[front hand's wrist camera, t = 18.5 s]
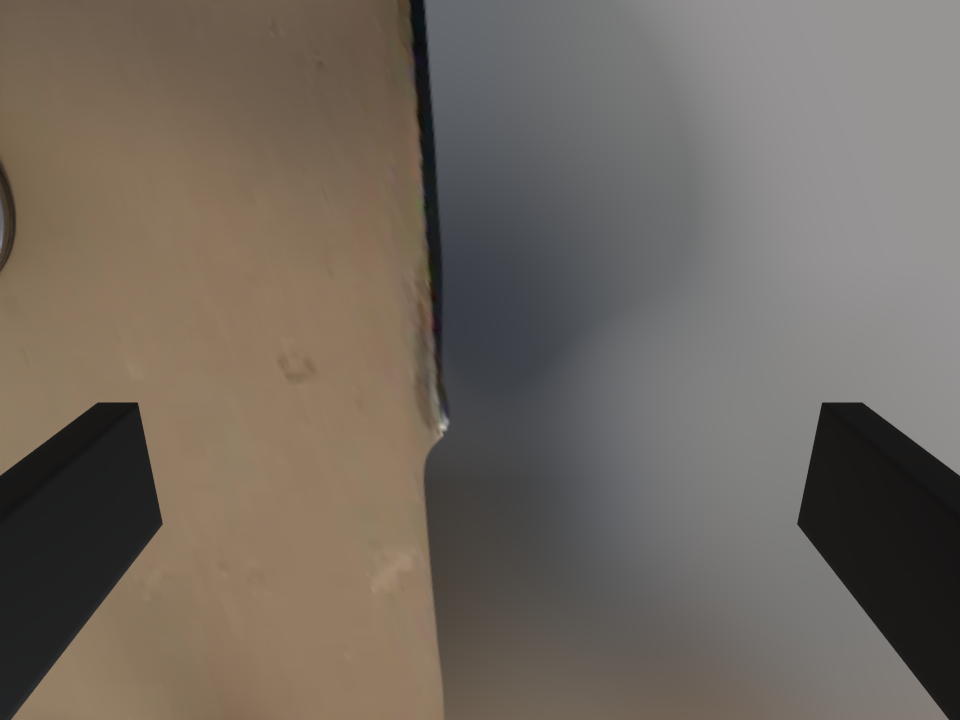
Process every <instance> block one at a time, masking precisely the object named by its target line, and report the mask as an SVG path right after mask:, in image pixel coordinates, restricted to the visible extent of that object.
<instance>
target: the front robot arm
mask: <svg viewBox="0 0 960 720" xmlns="http://www.w3.org/2000/svg"><path fill="white" fill-rule="evenodd" d="M13 230H14V217H13V207H12V202H11V197H10V193H9V190H8V187H7V184H6V181H5V178H4V176H3V173H2V171H1V169H0V270H1V268H2V267H3V265H4V263H5V261H6V259H7V257H8V254H9V251H10V248H11V243H12V239H13ZM162 524H163V523H162V518H161V513H160V508H159V503H158V499H157V494H156V489H155V484H154V479H153V474H152V469H151V464H150V460H149V455H148V450H147V445H146V440H145V435H144V430H143V425H142V421H141V416H140V411H139V406H138V403H97V404H95V405H94V406H93V407H91V408H90V409H89V410H87V411H86V412H85V413H83V414H82V415H81V416H79V417H78V418H77V419H75V420H74V421H73V422H71V423H70V424H69V425H67V426H66V427H65V428H63V429H62V430H61V431H59V432H58V433H57V434H55V435H54V436H53V437H51V438H50V439H49V440H47V441H46V442H45V443H43V444H42V445H41V446H39V447H38V448H37V449H35V450H34V451H33V452H31V453H30V454H29V455H27V456H26V457H25V458H23V459H22V460H21V461H19V462H18V463H17V464H15V465H14V466H13V467H11V468H10V469H9V470H7V471H6V472H5V473H3V474H2V475H1V476H0V720H11V719H12V718H13V716H14V715H15V714H16V712H17V711H18V710H19V709H20V707H21V706H22V705H23V703H24V702H25V701H26V700H27V698H28V697H29V696H30V694H31V693H32V692H33V691H34V689H35V688H36V687H37V685H38V684H39V683H40V682H41V680H42V679H43V678H44V676H45V675H46V674H47V673H48V671H49V670H50V669H51V667H52V666H53V665H54V663H55V662H56V661H57V660H58V658H59V657H60V656H61V654H62V653H63V652H64V651H65V649H66V648H67V647H68V645H69V644H70V643H71V642H72V640H73V639H74V638H75V636H76V635H77V634H78V633H79V631H80V630H81V629H82V627H83V626H84V625H85V624H86V622H87V621H88V620H89V618H90V617H91V616H92V615H93V613H94V612H95V611H96V609H97V608H98V607H99V606H100V604H101V603H102V602H103V600H104V599H105V598H106V597H107V595H108V594H109V593H110V591H111V590H112V589H113V588H114V586H115V585H116V584H117V582H118V581H119V580H120V579H121V577H122V576H123V575H124V573H125V572H126V571H127V570H128V568H129V567H130V566H131V564H132V563H133V562H134V560H135V559H136V558H137V557H138V555H139V554H140V553H141V551H142V550H143V549H144V548H145V546H146V545H147V544H148V542H149V541H150V540H151V539H152V537H153V536H154V535H155V533H156V532H157V531H158V530H159V528H160V527H161V526H162ZM797 524H798V526H799V527H800V528H801V530H802V531H803V532H804V533H805V535H806V536H807V537H808V539H809V540H810V541H811V542H812V544H813V545H814V546H815V548H816V549H817V550H818V551H819V553H820V554H821V555H822V557H823V558H824V559H825V560H826V562H827V563H828V564H829V566H830V567H831V568H832V569H833V571H834V572H835V573H836V575H837V576H838V577H839V578H840V580H841V581H842V582H843V584H844V585H845V586H846V588H847V589H848V590H849V591H850V593H851V594H852V595H853V597H854V598H855V599H856V600H857V602H858V603H859V604H860V606H861V607H862V608H863V609H864V611H865V612H866V613H867V615H868V616H869V617H870V618H871V620H872V621H873V622H874V624H875V625H876V626H877V627H878V629H879V630H880V631H881V633H882V634H883V635H884V636H885V638H886V639H887V640H888V642H889V643H890V644H891V645H892V647H893V648H894V649H895V651H896V652H897V653H898V654H899V656H900V657H901V658H902V660H903V661H904V662H905V663H906V665H907V666H908V667H909V669H910V670H911V671H912V672H913V674H914V675H915V676H916V678H917V679H918V680H919V681H920V683H921V684H922V685H923V687H924V688H925V689H926V690H927V692H928V693H929V694H930V696H931V697H932V698H933V700H934V701H935V702H936V703H937V705H938V706H939V707H940V708H941V710H942V711H943V712H944V714H945V715H946V716H947V718H948V719H949V720H960V476H959V475H958V474H957V473H955V472H954V471H953V470H951V469H950V468H949V467H947V466H946V465H945V464H943V463H942V462H941V461H939V460H938V459H937V458H935V457H934V456H933V455H931V454H930V453H929V452H927V451H926V450H925V449H923V448H922V447H921V446H919V445H918V444H917V443H915V442H914V441H913V440H911V439H910V438H909V437H907V436H906V435H905V434H903V433H902V432H901V431H899V430H898V429H897V428H895V427H894V426H893V425H891V424H890V423H889V422H887V421H886V420H885V419H883V418H882V417H881V416H879V415H878V414H877V413H875V412H874V411H873V410H871V409H870V408H869V407H867V406H866V405H865V404H863V403H822V406H821V411H820V416H819V421H818V425H817V431H816V435H815V440H814V445H813V450H812V455H811V460H810V464H809V469H808V474H807V479H806V484H805V489H804V494H803V499H802V503H801V508H800V513H799V518H798V523H797Z"/></svg>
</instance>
